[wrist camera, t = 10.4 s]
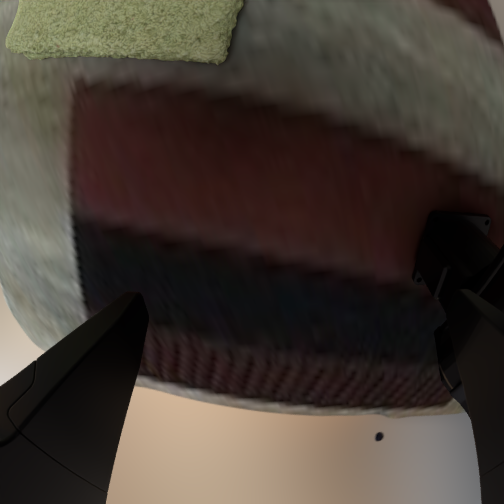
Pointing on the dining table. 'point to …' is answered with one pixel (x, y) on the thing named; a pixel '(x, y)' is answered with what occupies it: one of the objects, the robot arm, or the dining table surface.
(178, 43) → the washcloth
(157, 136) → the dining table surface
